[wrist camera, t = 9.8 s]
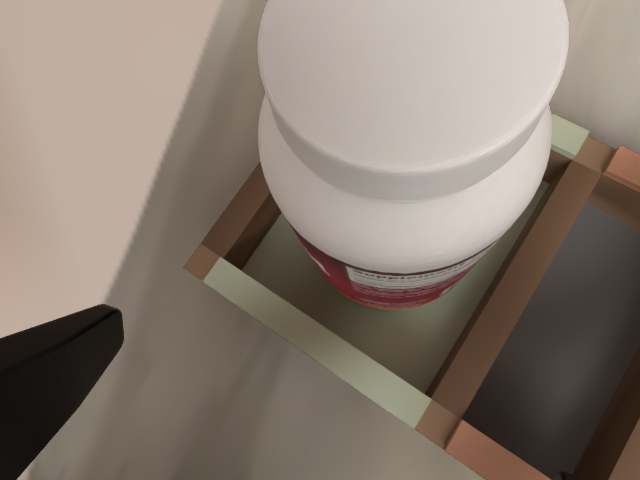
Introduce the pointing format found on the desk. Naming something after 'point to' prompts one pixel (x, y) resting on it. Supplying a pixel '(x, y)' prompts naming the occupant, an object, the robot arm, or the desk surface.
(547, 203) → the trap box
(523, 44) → the pill bottle
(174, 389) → the desk surface
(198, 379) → the desk surface
